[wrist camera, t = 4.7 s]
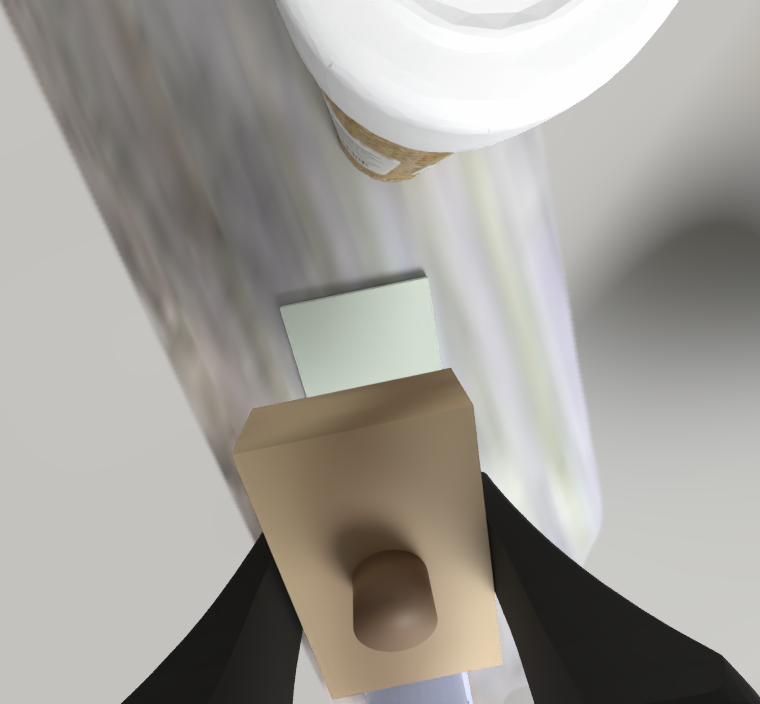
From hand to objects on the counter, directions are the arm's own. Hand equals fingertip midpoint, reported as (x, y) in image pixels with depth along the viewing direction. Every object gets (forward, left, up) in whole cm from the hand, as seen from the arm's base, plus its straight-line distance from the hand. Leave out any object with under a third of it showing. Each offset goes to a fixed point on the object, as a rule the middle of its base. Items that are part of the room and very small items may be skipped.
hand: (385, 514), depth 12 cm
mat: (0, 0, -8) cm, 8 cm away
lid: (0, 0, 0) cm, 0 cm away
